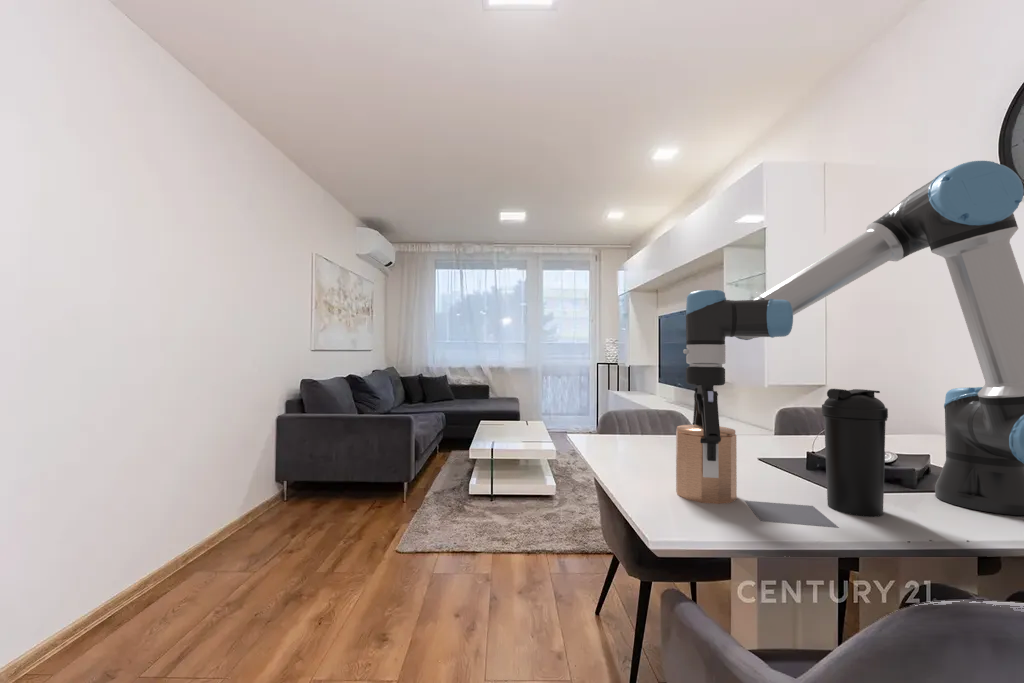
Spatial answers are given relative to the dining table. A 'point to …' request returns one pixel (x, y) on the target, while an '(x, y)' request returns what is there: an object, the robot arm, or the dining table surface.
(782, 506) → the mat
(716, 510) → the dining table surface
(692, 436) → the copper oval canister
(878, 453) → the water bottle
